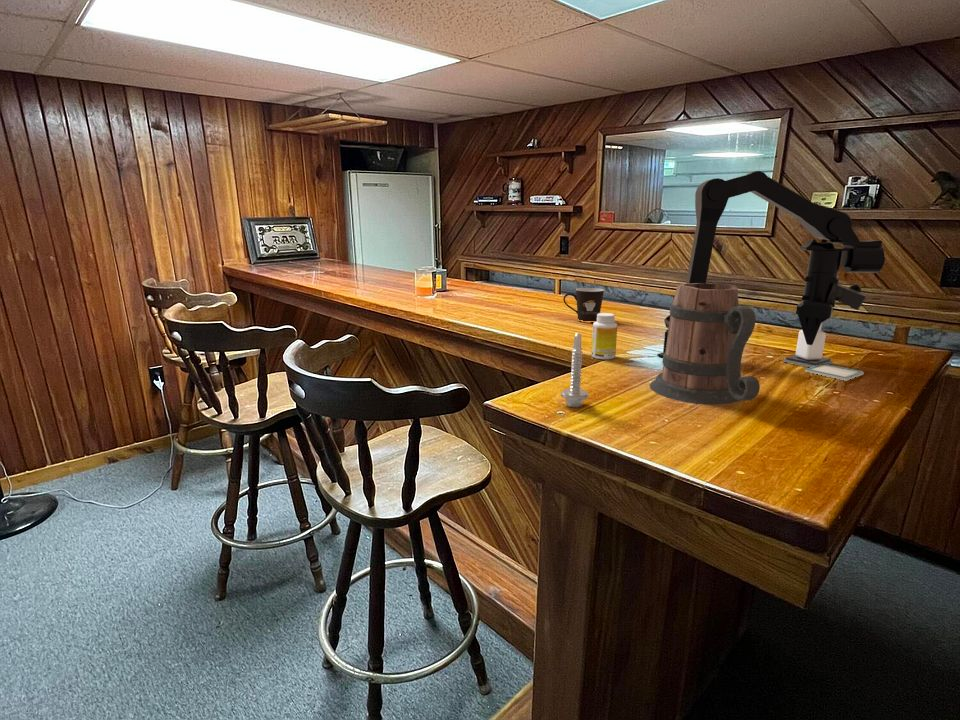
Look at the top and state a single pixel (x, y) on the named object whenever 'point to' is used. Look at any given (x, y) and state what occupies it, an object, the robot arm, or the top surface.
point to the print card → (835, 372)
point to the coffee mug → (587, 303)
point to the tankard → (706, 347)
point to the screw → (575, 377)
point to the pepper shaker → (811, 346)
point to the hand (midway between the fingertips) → (810, 342)
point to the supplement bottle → (604, 336)
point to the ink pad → (807, 361)
